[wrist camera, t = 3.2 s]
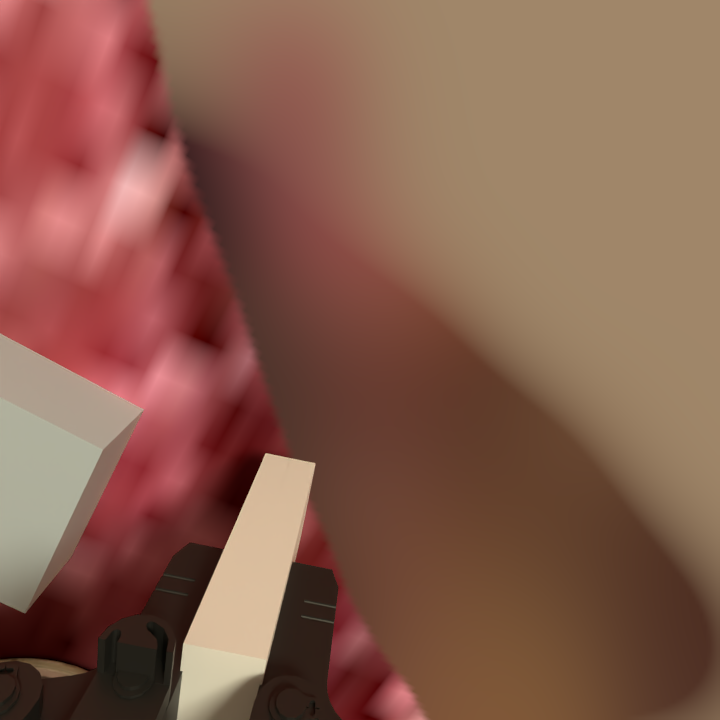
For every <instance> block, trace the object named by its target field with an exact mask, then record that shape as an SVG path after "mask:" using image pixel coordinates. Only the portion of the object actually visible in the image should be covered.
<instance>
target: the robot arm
mask: <svg viewBox="0 0 720 720" xmlns="http://www.w3.org/2000/svg"><path fill="white" fill-rule="evenodd" d="M314 468H315V463H311V462H306V461H301V460H296V459H292V458H287V457H282V456H277V455H272V454H267V453H266V454H265V456H264V458H263V461H262V463H261V465H260V468H259V470H258V472H257V474H256V477H255V479H254V481H253V484H252V486H251V488H250V491H249V493H248V495H247V498H246V500H245V502H244V504H243V507H242V509H241V511H240V514H239V516H238V518H237V521H236V523H235V525H234V528H233V530H232V532H231V534H230V537H229V539H228V541H227V544H226V546H225V548H224V549H219V548H214V547H209V546H204V545H199V544H194V543H189V544H188V545H186V546H185V547H184V548H183V549H181V550H180V551H179V552H178V553H176V554H175V555H174V556H173V557H172V559H171V561H170V563H169V564H168V566H167V568H166V570H165V572H164V574H163V576H162V577H161V579H160V581H159V582H158V584H157V586H156V589H155V591H153V593H152V595H151V597H150V599H149V600H148V602H147V604H146V606H145V608H144V609H143V611H142V613H141V615H134V616H130V617H127V618H123V619H121V620H119V621H117V622H116V623H114V624H112V625H111V626H109V627H108V628H107V629H106V630H105V631H104V632H103V634H102V635H101V636H100V637H99V638H98V660H97V668H96V669H93V670H91V671H88V672H86V673H81V674H76V675H71V676H62V677H54V678H45V679H41V675H40V672H39V671H38V670H37V669H36V668H35V667H33V666H32V665H31V664H29V663H25V662H20V661H8V662H0V720H342V719H341V718H340V717H339V716H338V715H337V714H336V712H335V711H334V709H333V707H332V705H331V703H330V701H329V697H328V693H327V678H328V669H329V661H330V653H331V644H332V636H333V628H334V619H335V611H336V602H337V594H338V585H337V582H336V580H335V577H334V574H333V571H332V570H330V569H325V568H321V567H316V566H311V565H306V564H301V563H296V562H295V559H296V555H297V550H298V546H299V542H300V538H301V533H302V528H303V523H304V518H305V513H306V508H307V503H308V498H309V493H310V488H311V483H312V478H313V473H314Z"/></svg>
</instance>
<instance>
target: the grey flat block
mask: <svg viewBox="0 0 720 720" xmlns="http://www.w3.org/2000/svg"><path fill="white" fill-rule="evenodd" d="M143 411H144V409H142V408H140V407H138V406H136V405H134V404H132V403H130V402H129V401H127V400H125V399H123V398H121V397H119V396H117V395H115V394H113V393H112V392H110V391H108V390H106V389H104V388H102V387H100V386H98V385H96V384H94V383H93V382H91V381H89V380H87V379H85V378H83V377H81V376H79V375H77V374H76V373H74V372H72V371H70V370H68V369H66V368H64V367H62V366H60V365H59V364H57V363H55V362H53V361H51V360H49V359H47V358H45V357H43V356H42V355H40V354H38V353H36V352H34V351H32V350H30V349H28V348H26V347H25V346H23V345H21V344H19V343H17V342H15V341H13V340H11V339H9V338H7V337H6V336H4V335H2V334H0V602H1V603H3V604H5V605H7V606H10V607H12V608H14V609H16V610H18V611H21V612H23V613H26V612H27V611H28V609H29V608H30V607H31V606H32V604H33V603H34V602H35V601H36V600H37V598H38V597H39V596H40V595H41V593H42V592H43V591H44V590H45V589H46V587H47V586H48V585H49V584H50V582H51V581H52V580H53V579H54V578H55V576H56V575H57V574H58V573H59V571H60V570H61V569H62V568H63V567H64V565H65V564H66V563H67V562H68V560H69V559H70V558H71V557H72V555H73V553H74V551H75V548H76V546H77V544H78V542H79V540H80V538H81V536H82V534H83V532H84V530H85V528H86V526H87V524H88V522H89V520H90V518H91V516H92V514H93V512H94V510H95V508H96V506H97V504H98V502H99V500H100V498H101V496H102V494H103V492H104V490H105V488H106V486H107V484H108V482H109V479H110V477H111V475H112V473H113V471H114V469H115V467H116V465H117V463H118V461H119V459H120V457H121V455H122V453H123V451H124V449H125V447H126V445H127V443H128V441H129V439H130V437H131V435H132V433H133V431H134V429H135V427H136V425H137V423H138V421H139V419H140V417H141V415H142V413H143Z"/></svg>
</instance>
